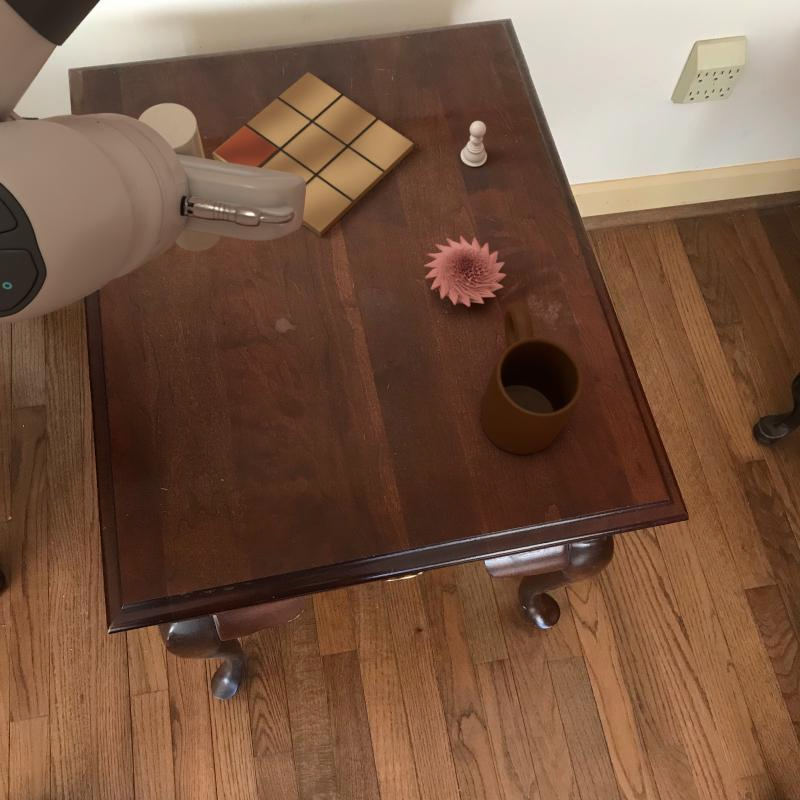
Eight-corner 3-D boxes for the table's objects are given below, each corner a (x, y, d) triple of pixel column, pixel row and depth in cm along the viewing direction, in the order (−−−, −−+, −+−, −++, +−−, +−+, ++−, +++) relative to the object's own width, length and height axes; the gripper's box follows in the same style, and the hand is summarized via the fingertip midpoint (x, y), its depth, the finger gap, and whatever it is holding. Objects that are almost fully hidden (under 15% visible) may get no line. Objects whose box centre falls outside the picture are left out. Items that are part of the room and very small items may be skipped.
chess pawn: (469, 171, 89) (476, 139, 84) (455, 153, 90) (460, 120, 85) (491, 161, 89) (499, 128, 85) (477, 142, 90) (483, 109, 86)
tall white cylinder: (161, 232, 66) (123, 127, 55) (197, 201, 68) (166, 93, 57) (197, 260, 66) (165, 159, 55) (233, 228, 67) (209, 124, 56)
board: (213, 159, 88) (211, 151, 87) (308, 78, 93) (308, 70, 92) (320, 237, 85) (320, 231, 84) (413, 149, 90) (414, 142, 89)
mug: (462, 346, 80) (475, 296, 72) (538, 336, 81) (560, 285, 73) (488, 462, 76) (505, 424, 67) (568, 451, 77) (595, 411, 68)
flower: (498, 328, 81) (508, 299, 76) (417, 320, 81) (421, 290, 76) (502, 260, 85) (511, 228, 79) (424, 251, 84) (428, 219, 79)
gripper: (289, 168, 47) (328, 149, 60) (-67, 108, 47) (49, 103, 60) (278, 277, 49) (318, 237, 62) (-61, 220, 49) (49, 191, 62)
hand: (183, 170), depth 61 cm, fingers closed on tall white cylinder, 4 cm apart
